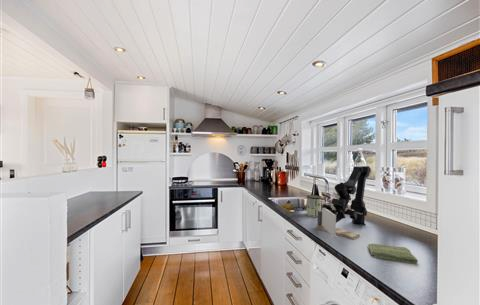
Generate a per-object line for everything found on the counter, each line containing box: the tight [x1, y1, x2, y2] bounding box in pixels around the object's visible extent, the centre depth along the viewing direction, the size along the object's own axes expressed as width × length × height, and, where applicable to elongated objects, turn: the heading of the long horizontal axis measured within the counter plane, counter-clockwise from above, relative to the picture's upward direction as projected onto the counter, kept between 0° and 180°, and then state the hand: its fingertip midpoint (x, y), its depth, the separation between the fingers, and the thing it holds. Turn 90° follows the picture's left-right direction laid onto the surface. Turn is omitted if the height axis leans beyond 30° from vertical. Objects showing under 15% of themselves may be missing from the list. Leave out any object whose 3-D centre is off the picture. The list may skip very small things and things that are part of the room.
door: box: [321, 207, 337, 238], centre depth 129 cm, size 20×1×11 cm, turn 179°
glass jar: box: [305, 194, 322, 218], centre depth 167 cm, size 10×10×14 cm
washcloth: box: [367, 243, 419, 264], centre depth 103 cm, size 13×18×3 cm
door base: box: [314, 209, 361, 240], centre depth 132 cm, size 23×8×10 cm, turn 41°
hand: (333, 223), depth 127 cm, fingers closed
